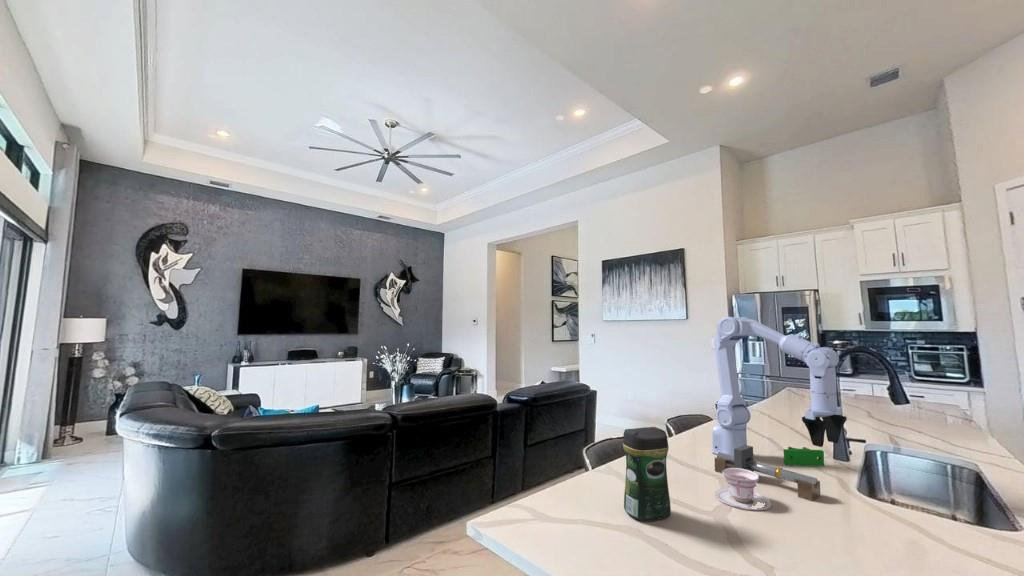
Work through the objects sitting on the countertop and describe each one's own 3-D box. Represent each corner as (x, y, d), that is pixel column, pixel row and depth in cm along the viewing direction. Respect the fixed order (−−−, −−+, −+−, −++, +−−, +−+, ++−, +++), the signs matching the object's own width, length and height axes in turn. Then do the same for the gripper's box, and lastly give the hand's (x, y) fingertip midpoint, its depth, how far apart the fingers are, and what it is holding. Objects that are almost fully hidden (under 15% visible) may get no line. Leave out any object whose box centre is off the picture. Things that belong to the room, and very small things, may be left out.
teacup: (718, 486, 109) (718, 462, 109) (773, 498, 102) (772, 472, 103) (710, 502, 99) (709, 475, 100) (769, 517, 92) (768, 487, 93)
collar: (734, 476, 115) (733, 448, 115) (746, 471, 118) (745, 444, 119) (742, 478, 113) (741, 450, 114) (753, 473, 117) (752, 446, 117)
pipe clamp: (815, 462, 129) (815, 447, 129) (824, 466, 125) (823, 451, 125) (778, 461, 129) (778, 446, 129) (786, 465, 125) (785, 449, 126)
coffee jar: (654, 503, 98) (652, 422, 100) (676, 518, 91) (675, 431, 92) (617, 508, 95) (616, 425, 97) (637, 525, 88) (636, 434, 89)
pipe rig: (714, 470, 120) (714, 453, 120) (724, 467, 123) (723, 450, 123) (812, 501, 100) (811, 479, 101) (820, 496, 103) (819, 475, 103)
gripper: (825, 397, 107) (827, 452, 106) (854, 393, 113) (856, 444, 113) (796, 392, 113) (797, 444, 112) (824, 389, 120) (826, 437, 119)
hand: (825, 444), depth 113 cm, fingers open, 7 cm apart
